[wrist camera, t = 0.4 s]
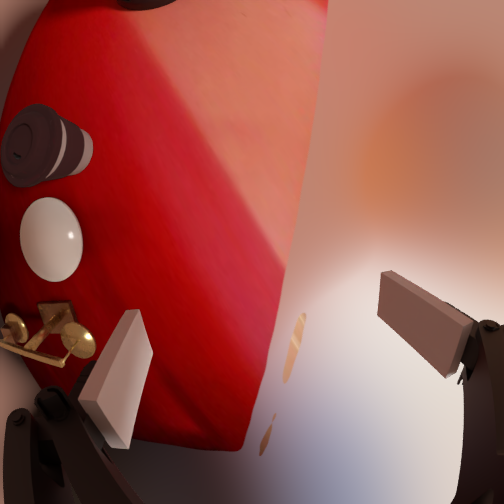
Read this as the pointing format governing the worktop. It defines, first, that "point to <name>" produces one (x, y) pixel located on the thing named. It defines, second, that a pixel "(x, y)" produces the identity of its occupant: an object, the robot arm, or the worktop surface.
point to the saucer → (51, 239)
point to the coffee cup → (43, 147)
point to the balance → (55, 321)
